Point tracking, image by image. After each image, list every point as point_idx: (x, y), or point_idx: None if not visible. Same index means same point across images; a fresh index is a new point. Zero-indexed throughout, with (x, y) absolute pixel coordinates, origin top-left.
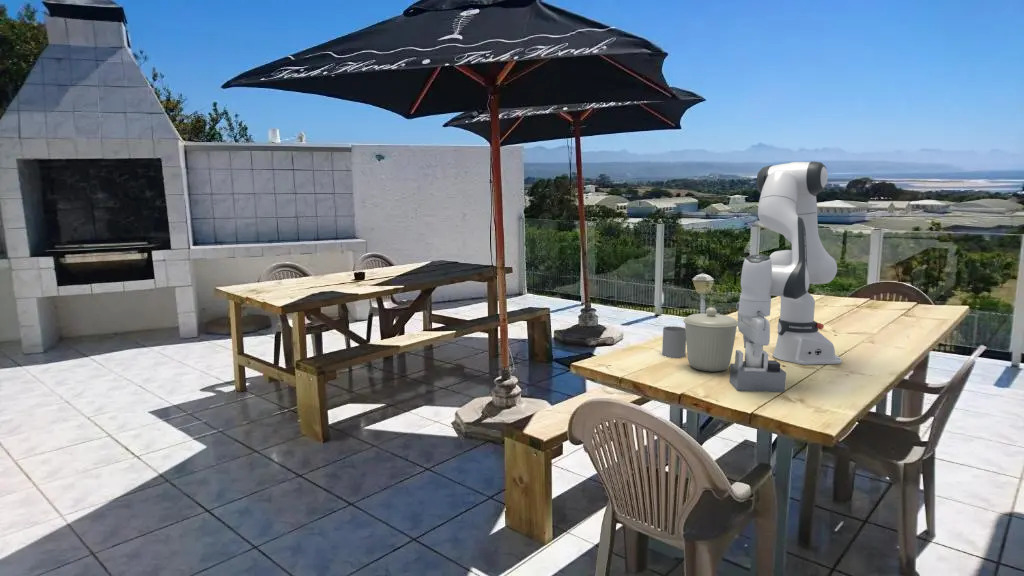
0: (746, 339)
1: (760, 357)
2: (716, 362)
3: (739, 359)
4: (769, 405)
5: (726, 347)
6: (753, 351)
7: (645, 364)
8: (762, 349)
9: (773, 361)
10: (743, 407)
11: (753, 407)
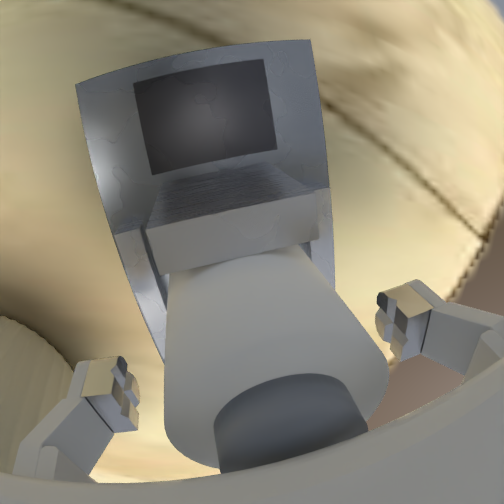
0: (80, 453)
1: (308, 258)
2: (64, 386)
3: None
4: (442, 174)
5: (14, 415)
6: (403, 355)
7: (104, 476)
8: (316, 285)
9: (182, 108)
10: (453, 257)
11: (455, 229)
